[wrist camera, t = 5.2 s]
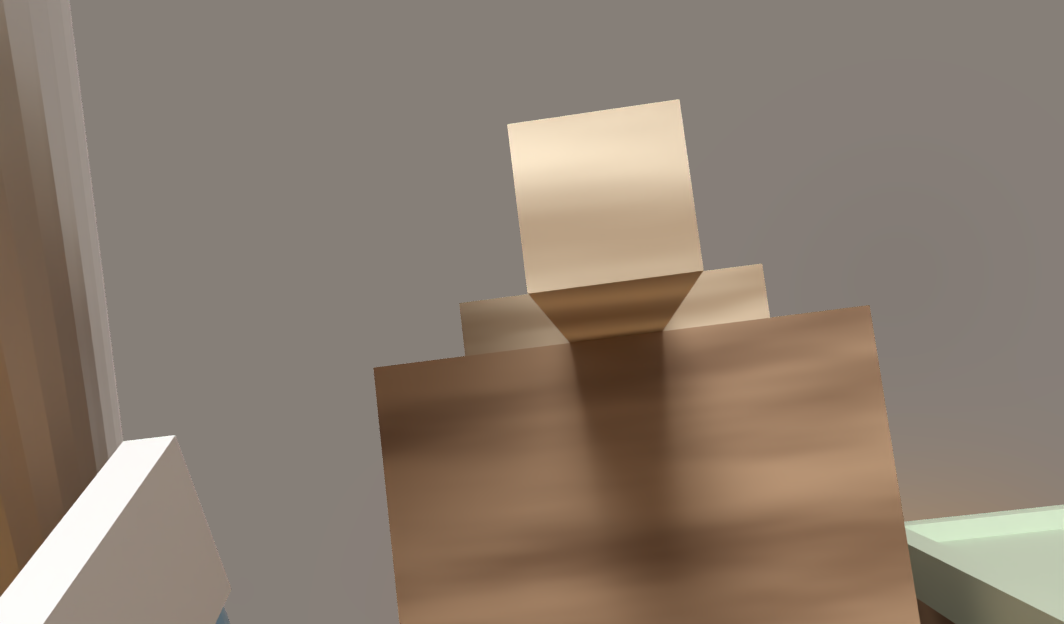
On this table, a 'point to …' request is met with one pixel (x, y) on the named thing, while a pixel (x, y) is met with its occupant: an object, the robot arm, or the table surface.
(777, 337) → the tall crate
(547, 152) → the cream cross-shaped block
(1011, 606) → the tray
